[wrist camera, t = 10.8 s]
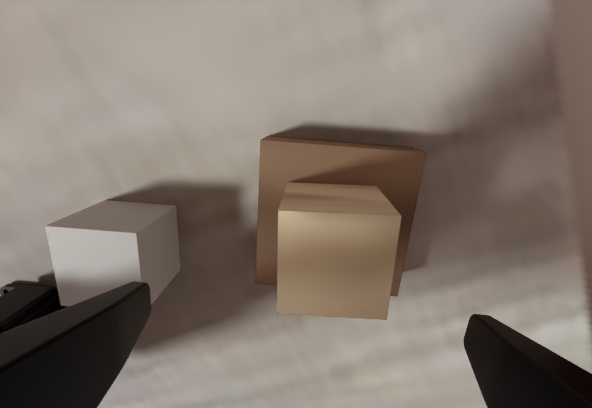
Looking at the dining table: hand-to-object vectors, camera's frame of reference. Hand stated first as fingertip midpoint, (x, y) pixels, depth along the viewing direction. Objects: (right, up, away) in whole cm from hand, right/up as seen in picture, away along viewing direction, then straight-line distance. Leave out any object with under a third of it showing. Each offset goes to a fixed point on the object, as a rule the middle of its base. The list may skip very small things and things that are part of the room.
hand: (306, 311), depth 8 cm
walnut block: (+2, +3, +12) cm, 13 cm away
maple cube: (+2, +2, +9) cm, 10 cm away
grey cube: (-11, +1, +13) cm, 17 cm away
